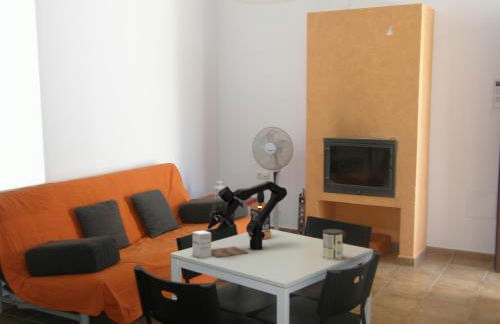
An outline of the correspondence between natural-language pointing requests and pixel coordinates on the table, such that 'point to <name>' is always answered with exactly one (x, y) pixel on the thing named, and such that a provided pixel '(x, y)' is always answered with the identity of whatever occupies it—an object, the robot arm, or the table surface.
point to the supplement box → (202, 244)
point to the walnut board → (227, 252)
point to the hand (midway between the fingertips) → (211, 230)
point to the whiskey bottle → (256, 210)
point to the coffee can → (332, 244)
